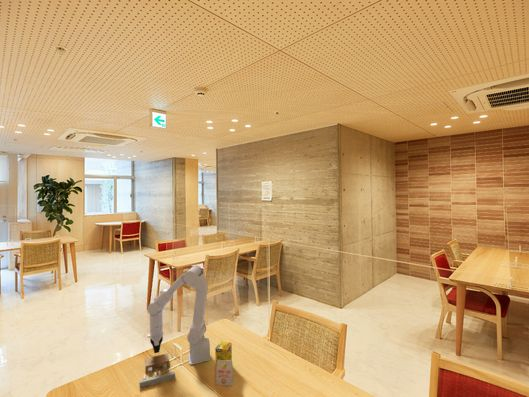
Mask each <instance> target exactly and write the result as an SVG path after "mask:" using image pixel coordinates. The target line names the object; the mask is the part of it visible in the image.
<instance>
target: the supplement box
mask: <svg viewBox="0 0 529 397" xmlns="http://www.w3.org/2000/svg"><path fill="white" fill-rule="evenodd" d="M232 344H233V343H232V342H231V341H230V342H229V341H223V340H222V341H221V340H220V341H219V342H218V344H217V345H216V346H215V348H214V349H215V352H214V353H215V355H214V356H215V357H214V358H215V362H214V363H215V364H216V360H232V361H233V359H232V357H233V355H232V353H233V352H232V350H233V349H232V348H233V346H232Z"/></svg>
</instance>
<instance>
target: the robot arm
mask: <svg viewBox="0 0 529 397" xmlns="http://www.w3.org/2000/svg"><path fill="white" fill-rule="evenodd" d="M182 285H183V286H184V285H188V286H190V287H192V288H194V290H196V291H195V299H194V300H195V301H194V308H193V318H192V323H191V326H190V329H189V332H188V334H187V336H186V339H187V343H188V344H189V354H187V357H188V362H189V365H190V366H192V365H197V364H200V363H203V362H204V363H205V362H209V361H211V343H210V339H209V337H205V334H206V332H207V326H206V320H205V315H206V314H205V313H206V306H207V295H208V287H209V284H208V281H207V278H206V276H205V270H203V269H202V267H200V265H193V266H191V267H190V269H188V270H187V271H185V272H184V273H182V274H181V275H180V276H179V277H177V279H176V280H175V281H174V282H173V283H172V284H171V286H169V288H165V289H161V290H160V291H159V294H158V295H157V296H156V297H154V298H153V301H152V302H150V303H149V304H148V305H147V308H146V311H147V313H148V314H149V333H148V334H147V338H149V339H150V342H149V343H150V344H151V346H152V347H153V348H152V349H153V353H154V354H158V353H160V350H161V345H162V342H163V340H164V338H163V336H164V332H163V331H164V330H163V310H164V308H165V307H166V305H167V304H168V303H169V302H170V301H171V300H172V299H173V298H174V293H175V292H177V290H178V289H179V288H181V286H182Z"/></svg>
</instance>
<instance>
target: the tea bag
mask: <svg viewBox="0 0 529 397" xmlns="http://www.w3.org/2000/svg"><path fill="white" fill-rule="evenodd" d="M214 372H215V373H214V375H215V377H214V379H215V382H214V383H215V384H214V386H215V387H228V386H229V387H232V386H233V382H234V364H233V359H232V360H216V363H215V371H214ZM229 387H228V388H229Z"/></svg>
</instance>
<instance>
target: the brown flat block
mask: <svg viewBox="0 0 529 397" xmlns="http://www.w3.org/2000/svg"><path fill="white" fill-rule="evenodd" d="M169 357H170V356H169V353H164V354H159V355H155V356H151V357H146V358H145V365H144V366H145V368H144V369H145V371H144V372H147V374H148V375H152V374H153V371H154V370H155V371H156V370H159V369H162V372H165V371H167V369H168V368H167V367H169V366H170V358H169Z"/></svg>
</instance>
